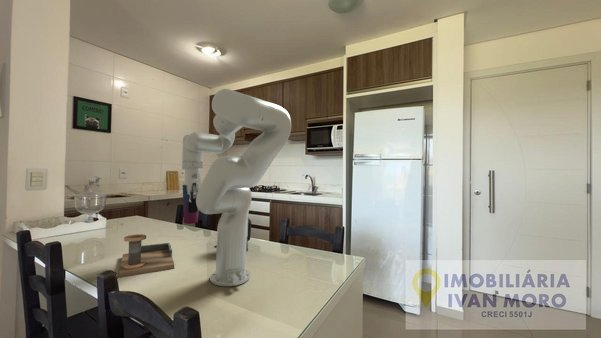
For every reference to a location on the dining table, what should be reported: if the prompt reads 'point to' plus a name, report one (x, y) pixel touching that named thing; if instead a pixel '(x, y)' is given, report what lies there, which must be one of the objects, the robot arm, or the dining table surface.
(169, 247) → the board
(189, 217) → the cup
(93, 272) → the dining table surface
